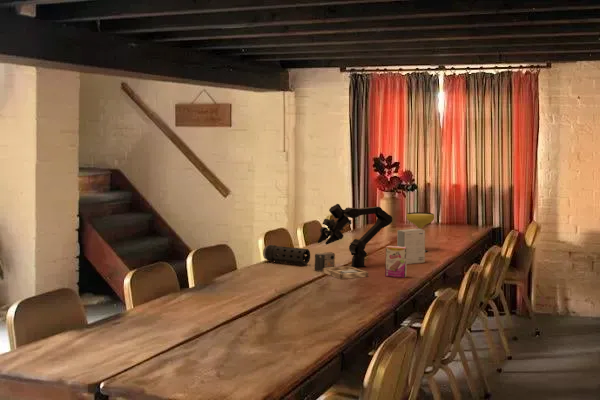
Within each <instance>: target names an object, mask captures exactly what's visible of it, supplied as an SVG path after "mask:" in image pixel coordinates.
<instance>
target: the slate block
mask: <svg viewBox="0 0 600 400" xmlns="http://www.w3.org/2000/svg"><path fill="white" fill-rule="evenodd" d="M346 273H358V271H355V270H348V271H341V274H346Z"/></svg>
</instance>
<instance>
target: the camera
mask: <svg viewBox="0 0 600 400" xmlns="http://www.w3.org/2000/svg"><path fill="white" fill-rule="evenodd" d="M335 258H336V254H335V252H332V251H329V252H326V251H325V252H316V253H315V254H314V270H315V271H316V272H323V268H331V267H335Z"/></svg>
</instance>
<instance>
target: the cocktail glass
mask: <svg viewBox="0 0 600 400" xmlns="http://www.w3.org/2000/svg"><path fill="white" fill-rule="evenodd" d="M406 219H407V221H408V222H410V223H412V224H413V225H415V226H416V227H417V229H422V230H423V228H424V227H425V226H427V225H428V224H430V223H432V222H433V221H435V214H434V213H431V212H422V211H421V212H420V211H419V212H417V211H416V212H415V211H414V212H413V211H412V212H407V213H406ZM426 251H428V250H427V249H425V253H427V252H426Z"/></svg>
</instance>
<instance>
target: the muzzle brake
mask: <svg viewBox="0 0 600 400" xmlns="http://www.w3.org/2000/svg"><path fill="white" fill-rule="evenodd" d="M262 255H263V258H264V259H265V260H267V261H270V262H274V263H276V264H281V263H286V264H290V265H295V266H296V265H298V266H304V267H305V266H307V265H308V263H310V260H311V251H310V249H308V248H301V247H300V248H299V247H288V246H283V245H282V246H279V245H276V244H275V245H274V244H269V245H265V246H264V248H263V251H262Z"/></svg>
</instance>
